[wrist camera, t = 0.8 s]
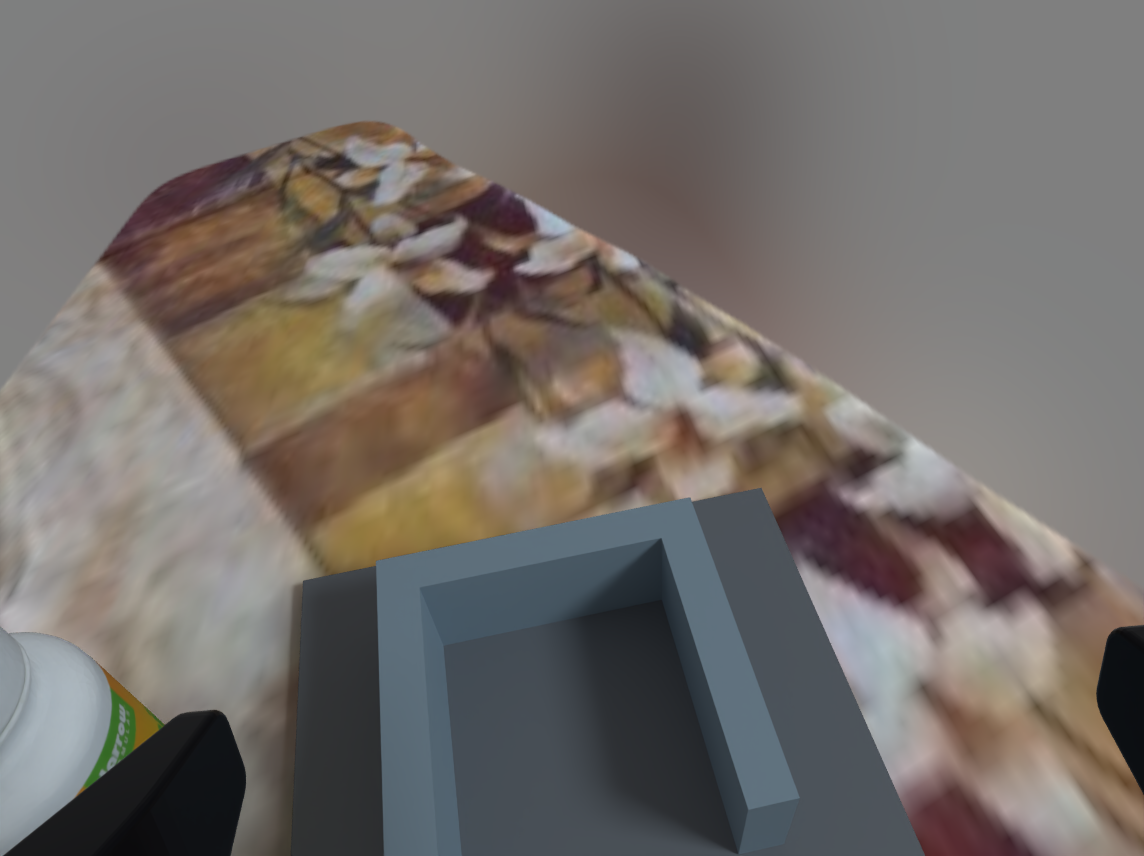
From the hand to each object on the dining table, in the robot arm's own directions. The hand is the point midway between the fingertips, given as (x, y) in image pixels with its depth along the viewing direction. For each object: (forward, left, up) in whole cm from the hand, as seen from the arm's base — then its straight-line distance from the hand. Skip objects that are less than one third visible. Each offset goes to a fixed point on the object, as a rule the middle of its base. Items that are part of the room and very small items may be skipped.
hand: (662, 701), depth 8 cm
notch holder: (+5, +4, -16) cm, 17 cm away
